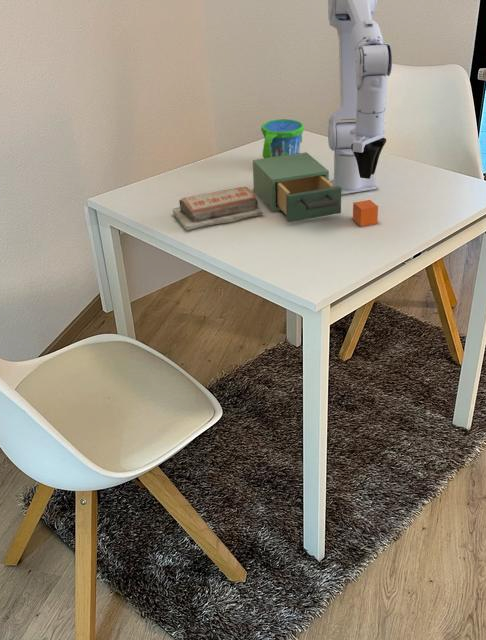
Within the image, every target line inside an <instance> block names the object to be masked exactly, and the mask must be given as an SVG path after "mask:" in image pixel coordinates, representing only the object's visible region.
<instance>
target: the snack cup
mask: <svg viewBox="0 0 486 640" xmlns="http://www.w3.org/2000/svg"><path fill="white" fill-rule="evenodd" d="M260 130H261V133H262V135H263V138H264V139H263V148H262V159H264V158H270V157H277V156H284V155H291V154H298V153H300V152H301V151H300V150H301V143H302V142H303V133H304V131H305V126H304V124H303V123H302V122H301V121H299V120H295V119H289V118H281V119H279V118H278V119H273V120H269V121H266V122H264V123H263V124H262V125H261V127H260Z"/></svg>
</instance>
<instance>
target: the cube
mask: <svg viewBox="0 0 486 640" xmlns="http://www.w3.org/2000/svg"><path fill="white" fill-rule="evenodd" d="M378 216H379V205H377V204H376V203H375V202H374V201H372V200H371V199H366V200H360V201H353V203H352V221H353V222H354V223H356V224H357V225H358V227H366V226H371V225H378Z"/></svg>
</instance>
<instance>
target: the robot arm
mask: <svg viewBox="0 0 486 640" xmlns="http://www.w3.org/2000/svg"><path fill="white" fill-rule="evenodd" d="M377 5H378V0H327V12H328V14H327V17H328V21H329V26H331V27H333V28H334V29H336V32H337V37H338V57H339V62H338V63H339V64H338V65H339V103H340V104H339V107H338V108H337V109H336V110H335V111H334V112H332V113H331V114H330V116H329V118H328V127H327V140H328V141H327V142H328V148H329V149H330V150H331V151H333V153H334V155H333V156H334V157H333V180H330V181H329V182H331V183H332V184H333V185H334V187H338V186H340V187H341V188H342V190H341V196H342V195H347V194H348V195H349V194H354V193H361V192H367V191H372V190H376V189H377V187H376V186H375V185H376V171H377V166H378V162H379V159H380V155H381V153H382V151H383V148H384V146H386V145H385V144H386V143H387V138H386V137H385V133H386V132H385V131H386V129H385V127H386V121H385V120H386V119H385V118H386V103H387V86H388V77H390V76H391V73H392V69H393V51H392V47H391V44H390V43H387V41H384V38H383V35H382V31H381V28H380V25H379V24H378V22H377V21H376V20H374V19H373V16H374V13H375V11H376V9H377ZM340 121H343V122H340Z"/></svg>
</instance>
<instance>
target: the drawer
mask: <svg viewBox="0 0 486 640" xmlns="http://www.w3.org/2000/svg"><path fill="white" fill-rule="evenodd" d="M341 190H342V188H341V187H340V186H338V187H334V185H333V184H332V183H331V182H329V181H328V180H327V179H326V178H325V177H324V176H322V175H320V176H314V177H307V178H301V179H294V180H288V181H281V182H275V191H276V204H277V205H278V206H279V208H280V209H281V211H282V212H283V213H284V214H285V215H286V217H285V219H286V221H287V222H288V223H289V222H296V221H302V220H309V219H314V218H320V217H327V216H332V215H337V214H341V212H342V195H341Z"/></svg>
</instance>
